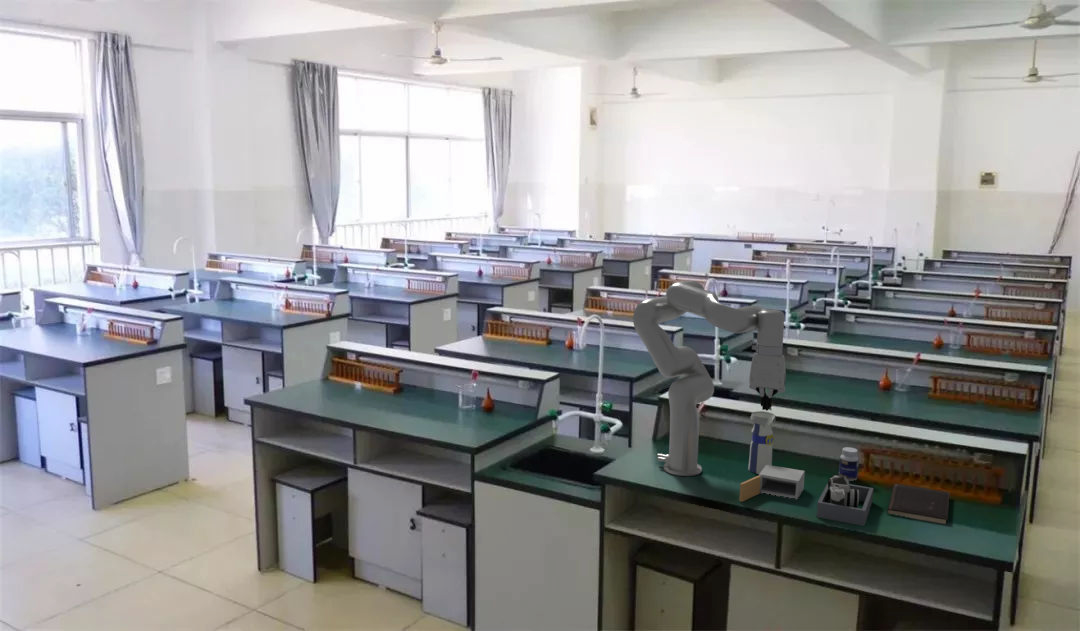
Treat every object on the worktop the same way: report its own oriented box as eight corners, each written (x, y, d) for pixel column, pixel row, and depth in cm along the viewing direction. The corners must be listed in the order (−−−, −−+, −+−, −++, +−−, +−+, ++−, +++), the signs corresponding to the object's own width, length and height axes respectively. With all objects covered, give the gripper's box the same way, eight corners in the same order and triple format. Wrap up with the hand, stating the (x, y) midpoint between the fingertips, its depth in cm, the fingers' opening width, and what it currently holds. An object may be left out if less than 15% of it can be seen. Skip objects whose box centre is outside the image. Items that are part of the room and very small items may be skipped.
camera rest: (816, 517, 245) (817, 502, 244) (827, 494, 262) (828, 480, 261) (864, 525, 239) (865, 510, 238) (872, 502, 256) (873, 488, 255)
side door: (758, 491, 263) (759, 474, 262) (761, 492, 262) (762, 475, 261) (739, 500, 256) (740, 483, 255) (742, 501, 255) (742, 484, 254)
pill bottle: (838, 480, 275) (840, 450, 273) (839, 474, 280) (841, 445, 278) (856, 482, 273) (859, 453, 271) (857, 476, 278) (859, 447, 276)
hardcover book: (948, 499, 261) (949, 492, 260) (946, 526, 240) (947, 519, 240) (893, 490, 268) (893, 483, 267) (886, 515, 247) (887, 508, 247)
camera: (859, 522, 241) (862, 489, 239) (827, 519, 244) (830, 486, 242) (855, 502, 256) (858, 471, 254) (825, 499, 259) (828, 468, 257)
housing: (758, 492, 263) (759, 474, 262) (765, 482, 272) (766, 464, 271) (797, 499, 258) (798, 480, 257) (803, 489, 266) (804, 470, 265)
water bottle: (779, 471, 282) (783, 398, 278) (761, 476, 278) (765, 402, 273) (759, 464, 289) (763, 393, 285) (742, 468, 284) (746, 396, 280)
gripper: (741, 350, 255) (738, 408, 258) (792, 355, 248) (788, 415, 251) (747, 345, 262) (744, 403, 265) (797, 350, 255) (793, 409, 258)
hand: (766, 409), depth 258 cm, fingers closed
